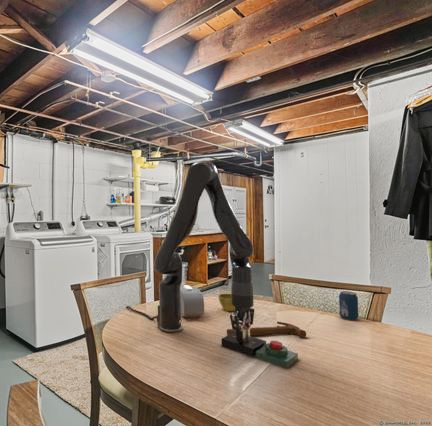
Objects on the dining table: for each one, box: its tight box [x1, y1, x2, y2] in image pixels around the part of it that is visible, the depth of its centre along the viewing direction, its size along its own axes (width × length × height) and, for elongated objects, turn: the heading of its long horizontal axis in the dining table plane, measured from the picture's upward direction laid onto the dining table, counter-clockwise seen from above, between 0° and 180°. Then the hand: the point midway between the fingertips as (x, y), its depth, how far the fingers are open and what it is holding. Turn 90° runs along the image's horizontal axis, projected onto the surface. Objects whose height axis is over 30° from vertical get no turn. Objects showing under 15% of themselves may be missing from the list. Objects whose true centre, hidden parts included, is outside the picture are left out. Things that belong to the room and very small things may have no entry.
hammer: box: [226, 321, 307, 339], centre depth 125 cm, size 12×3×30 cm
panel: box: [221, 332, 267, 358], centre depth 112 cm, size 12×10×3 cm
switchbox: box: [255, 342, 299, 369], centre depth 103 cm, size 10×9×4 cm
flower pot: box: [217, 293, 235, 312], centre depth 157 cm, size 10×10×7 cm
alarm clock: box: [180, 284, 205, 318], centre depth 153 cm, size 21×10×13 cm, turn 179°
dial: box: [242, 325, 251, 342], centre depth 112 cm, size 4×4×5 cm
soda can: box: [338, 290, 359, 322], centre depth 141 cm, size 7×7×12 cm
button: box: [269, 340, 283, 350], centre depth 103 cm, size 4×4×2 cm
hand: (243, 338), depth 112 cm, fingers closed on dial, 4 cm apart
